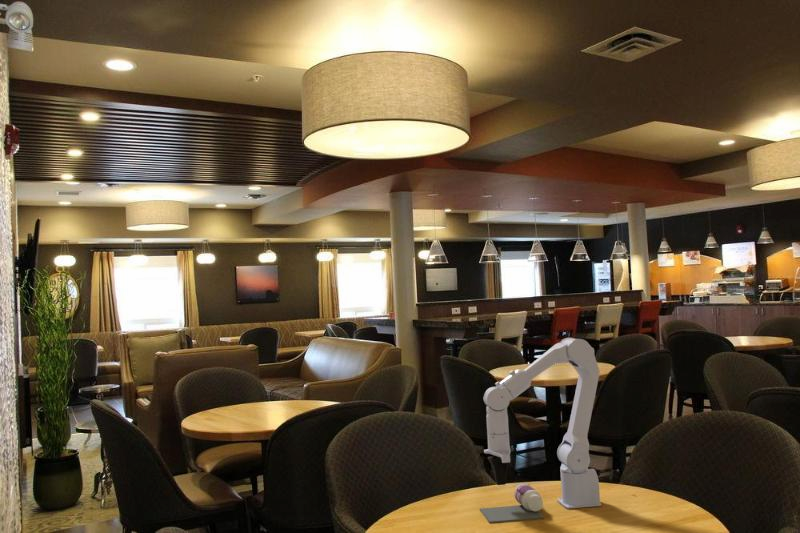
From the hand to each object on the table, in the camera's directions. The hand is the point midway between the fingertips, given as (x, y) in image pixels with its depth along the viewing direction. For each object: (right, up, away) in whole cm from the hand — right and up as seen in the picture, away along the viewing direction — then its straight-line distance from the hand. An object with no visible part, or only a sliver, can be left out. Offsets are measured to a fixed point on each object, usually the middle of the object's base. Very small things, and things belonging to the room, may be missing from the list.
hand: (500, 484), depth 178 cm
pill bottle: (+6, -3, +2) cm, 7 cm away
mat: (+2, -6, -5) cm, 8 cm away
